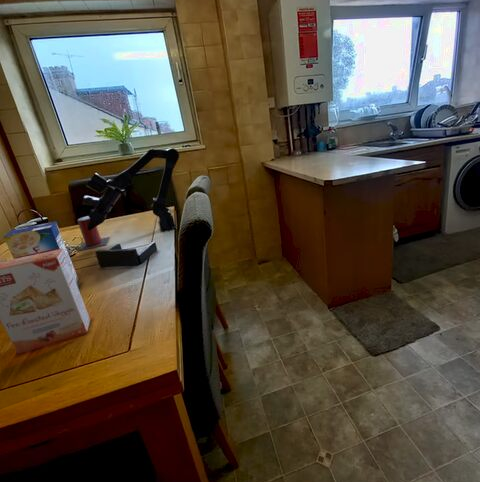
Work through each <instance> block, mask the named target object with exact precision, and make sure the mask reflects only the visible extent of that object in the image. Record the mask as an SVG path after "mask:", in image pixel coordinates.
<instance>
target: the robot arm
mask: <svg viewBox="0 0 480 482" xmlns="http://www.w3.org/2000/svg"><path fill="white" fill-rule="evenodd" d="M179 158H180V152H179V151H178V150H177V149H176V148H174V147H169V148H167V149H159V148H149V149H148V150H147V151H146V152H145V153H143V155H142V156H141V157H140V158H139V159H137V160H136V161H135V162H134V163H133V164H132V165H131V166H130V167H128V168H127V169H125V170H123V171H121V172H120V173H118V174H117V175H115V177H114V178H109V179H106V178H104V177H103V176H101V175H100V174H99V173H97V172H95V173H94V174H93V175H92V176H91V177H90V179H89V180H88V181H87V183H86V184H85V186H86V187H87V188H89V189H91V190H93V191H95V192H96V193H98V194H100V193H103V194H102V196H101V197H95V196H90V195H84V196H83V199H82V205H84V206H91V207H93V208H92V209H91V210H90V211H89V213H88V215H87V216H89V218H90V222H89V225H88V228H87V230H88V231H90V230H91V229H93V228H95V227H96V226H97V227H98V226H99V225H102V224H103V223H104V222H105V220H106V219H107V217H108V215H109V214H110V212H111V211H112V209H113V207H114V206H115V205H116V202H117V201H118V200H119V198H121V196H123V197H126V196H127V193H126V189H125V188H126V187H128V185H129V184H130V183H131V181H132V180H133V179H134V178H135V176H136V175H137V174H138V173H139V172H140V171H142V169H144V167H146V166H147V165H148V164H149V163H150V162H152V160H153V159H162V160H163V159H164V168H163V173H162V177H161V182H160V186H159V189H158V190H159V191H158V194H157V196H156V197H153V198H152V204H151V209H152V214H153V215H154V216H156V217H157V218H158V220H157V224H158V228H159V230H160V231H161V232H167V231H171V230H175V229H177V226H176V224H175V219H174V216H173V215H172V212H171V208H168V207H167V196H168V195H167V194H168V191H169V188H170V183H171V179H172V177H173V176H172V175H173V172H174V168H175V167H176V165H177V163H178V161H179ZM104 191H105V192H104Z"/></svg>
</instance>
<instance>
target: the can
mask: <svg viewBox="0 0 480 482" xmlns="http://www.w3.org/2000/svg"><path fill="white" fill-rule="evenodd" d="M76 221H77V224H78V227H79V229H80V233H81V235H82V239H83V240H84V241H83V242H85V244H86V246H94V245H98V244H100V243H101V242H102V240H101V239H102V238H101V235H100V232H99V229H98V226H96V227H95V228H93V229H91V230H90V231H88V230H87V228H88V225H89V222H90V218H89V216H88V215H86V216H82V217H80V218H78V219H77V220H76Z"/></svg>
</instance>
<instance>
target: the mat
mask: <svg viewBox="0 0 480 482" xmlns="http://www.w3.org/2000/svg"><path fill="white" fill-rule="evenodd" d="M109 239H110V237H109V236H108V237H103V238H101V240H102V242H101V243H100V244H98V245H94V246H86V244H85V241H83V242H82V244H80V247H79V248H78V250H77V252H81V251H87V250H90V249H96V248H100V247H105V246H107V244H108V241H109Z"/></svg>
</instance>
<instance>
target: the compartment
mask: <svg viewBox="0 0 480 482" xmlns="http://www.w3.org/2000/svg"><path fill="white" fill-rule="evenodd" d="M157 251H158V246H157V243H156V241H152V242H151V243H149V244H148V245H147V246H146V247H144V248H143V249H142V250H137V248H122V246H121V243H117V244H116V243H115V245H114V246H112V247H111V248H109V249H99V250H98V249H97V250H95V251H94V252H95V253H94V254H95V256H96V259H97V262H98V265H99V267H100V268H120V267H121V268H122V267H139V266H141V265H144V263H146V262H147V260H149V259H150V258H151V257H152V256H153V255H154V254H155V253H156V252H157Z"/></svg>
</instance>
